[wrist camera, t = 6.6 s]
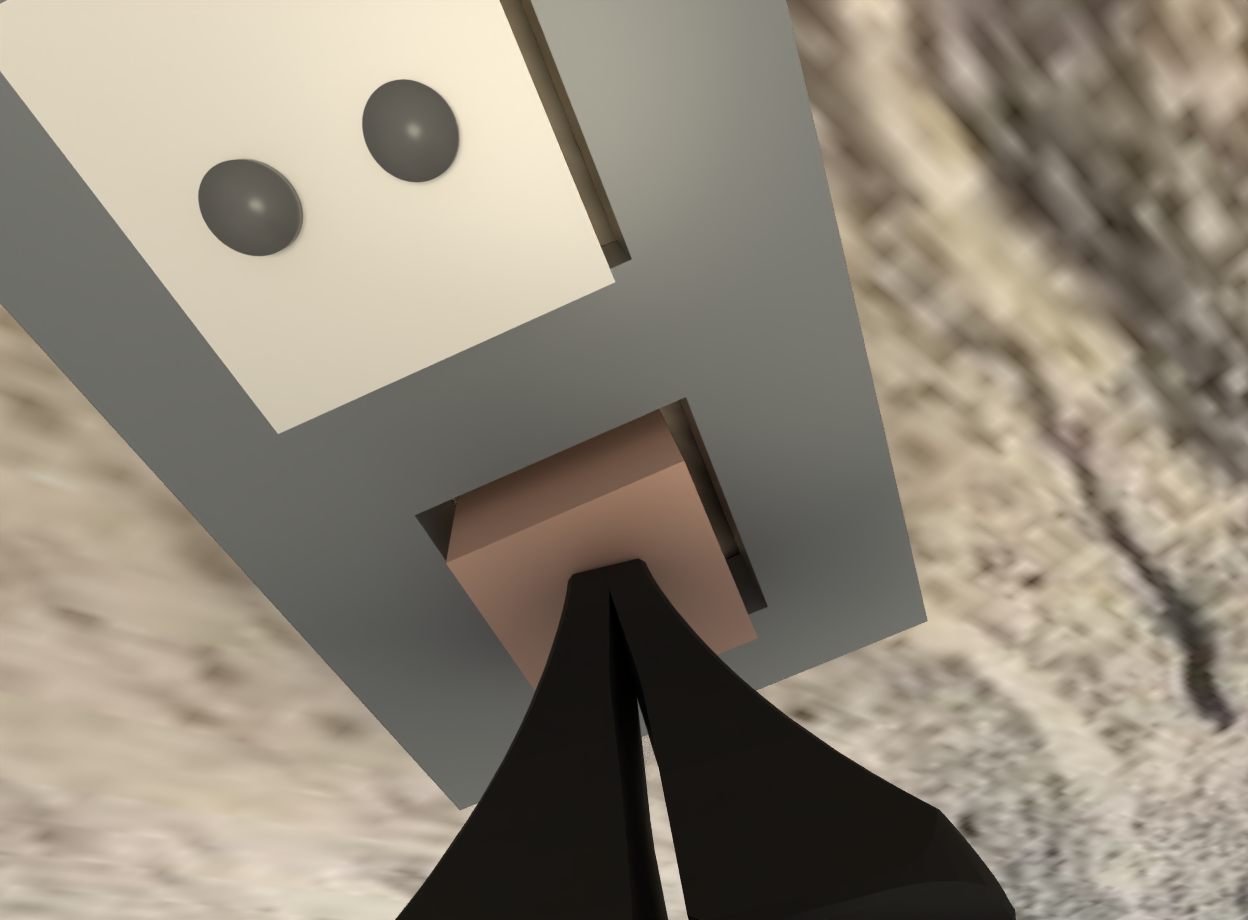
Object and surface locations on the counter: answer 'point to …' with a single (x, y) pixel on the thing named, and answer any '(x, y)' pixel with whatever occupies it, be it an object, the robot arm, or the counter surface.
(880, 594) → the keypad
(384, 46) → the key two
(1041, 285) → the counter surface
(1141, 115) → the counter surface
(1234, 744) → the counter surface
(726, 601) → the key one
